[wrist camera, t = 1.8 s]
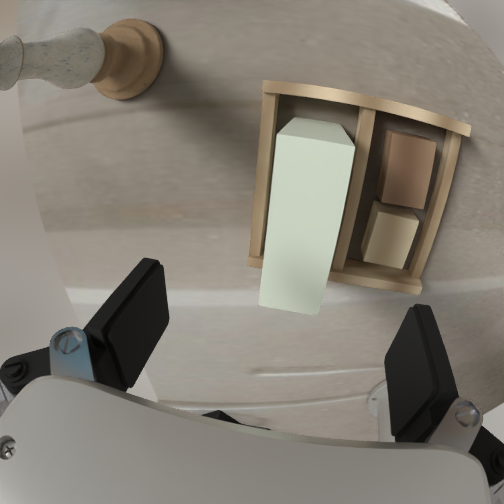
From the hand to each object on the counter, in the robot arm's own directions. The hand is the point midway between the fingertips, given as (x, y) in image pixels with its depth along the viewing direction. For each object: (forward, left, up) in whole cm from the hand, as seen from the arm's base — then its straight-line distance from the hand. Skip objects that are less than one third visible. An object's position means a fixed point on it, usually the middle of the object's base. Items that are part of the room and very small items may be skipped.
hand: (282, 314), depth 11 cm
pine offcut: (-9, +4, -19) cm, 21 cm away
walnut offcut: (-9, -3, -19) cm, 21 cm away
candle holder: (+19, -11, -19) cm, 29 cm away
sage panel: (0, 0, -19) cm, 19 cm away
